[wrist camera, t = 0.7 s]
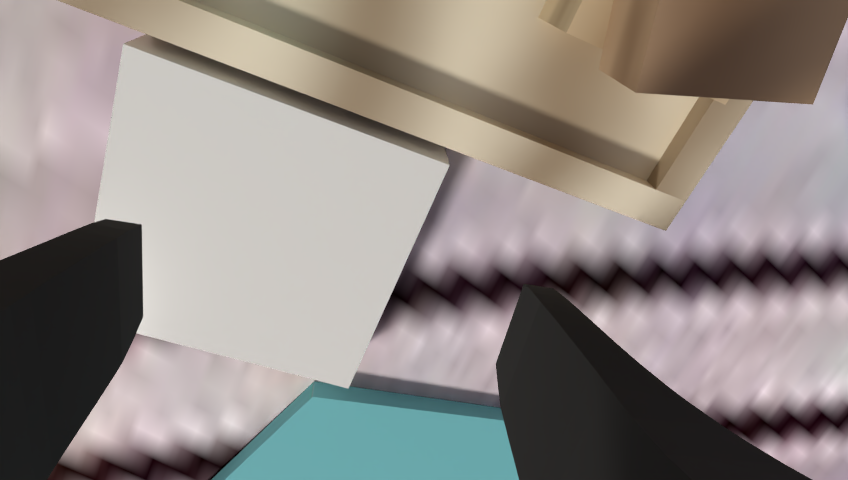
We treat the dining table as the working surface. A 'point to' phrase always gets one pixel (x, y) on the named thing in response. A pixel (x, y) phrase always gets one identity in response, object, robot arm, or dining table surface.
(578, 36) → the offcut
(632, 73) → the offcut
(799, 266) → the dining table surface
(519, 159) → the wooden tray
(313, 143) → the tile
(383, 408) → the plaque
